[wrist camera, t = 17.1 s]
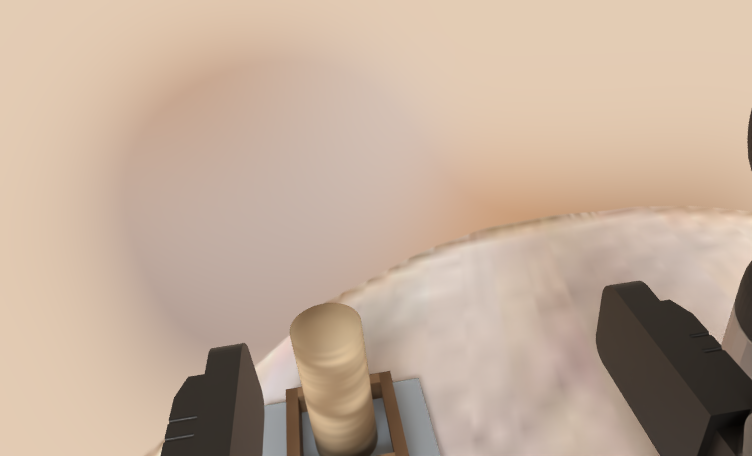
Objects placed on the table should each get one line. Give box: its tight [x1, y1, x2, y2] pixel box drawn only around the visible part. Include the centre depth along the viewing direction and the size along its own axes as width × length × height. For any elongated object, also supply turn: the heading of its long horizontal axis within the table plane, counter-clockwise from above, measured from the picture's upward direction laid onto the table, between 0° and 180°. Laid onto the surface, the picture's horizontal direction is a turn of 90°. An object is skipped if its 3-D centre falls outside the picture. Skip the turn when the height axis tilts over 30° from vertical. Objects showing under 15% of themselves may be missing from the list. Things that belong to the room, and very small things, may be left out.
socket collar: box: [286, 371, 409, 456], centre depth 45 cm, size 9×9×2 cm
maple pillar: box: [290, 303, 378, 456], centre depth 42 cm, size 5×5×12 cm
